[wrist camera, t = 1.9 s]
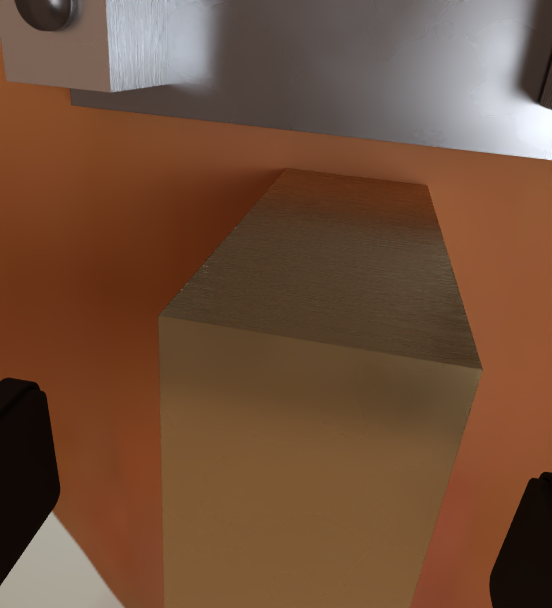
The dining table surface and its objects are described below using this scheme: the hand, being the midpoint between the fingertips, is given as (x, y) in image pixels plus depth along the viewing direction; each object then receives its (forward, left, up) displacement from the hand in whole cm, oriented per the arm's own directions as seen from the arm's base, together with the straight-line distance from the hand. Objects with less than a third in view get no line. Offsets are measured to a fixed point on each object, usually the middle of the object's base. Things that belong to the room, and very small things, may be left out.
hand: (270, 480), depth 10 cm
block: (-1, 0, -11) cm, 11 cm away
